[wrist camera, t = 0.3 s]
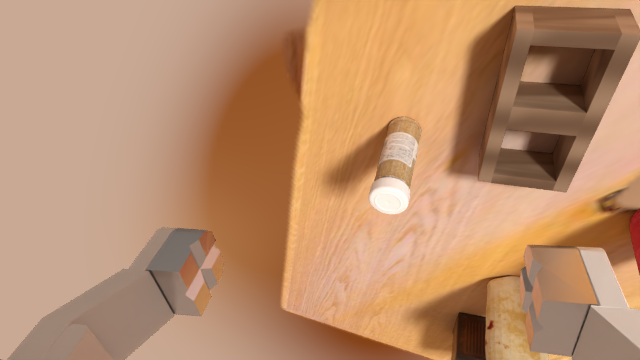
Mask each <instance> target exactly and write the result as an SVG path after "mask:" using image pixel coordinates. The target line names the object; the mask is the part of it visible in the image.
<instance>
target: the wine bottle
mask: <svg viewBox="0 0 640 360" xmlns="http://www.w3.org/2000/svg"><path fill="white" fill-rule="evenodd" d="M630 234H631V239H632V244H633V249H634V253H635V257H636V262H637V266H638V270H639V274H640V209H639V210H638V211H637V212H636V213H635V214H634V215H633V216H632V218H631V220H630Z"/></svg>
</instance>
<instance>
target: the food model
mask: <svg viewBox="0 0 640 360" xmlns="http://www.w3.org/2000/svg"><path fill="white" fill-rule="evenodd" d="M519 289H520V277H518V276H507V277H502V278H495V279H492V280H491V281H490V282H489V283H488V285H487V303H486V335H485V351H486V360H549V355H548V354H547V353H539V352H532V351H530V349H529V344H528V339H527V333H526V328H525V323H526V318H527V313H526V312H525V311H524V310H523V309H522V306H521V300H520V291H519Z"/></svg>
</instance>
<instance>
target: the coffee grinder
mask: <svg viewBox="0 0 640 360" xmlns="http://www.w3.org/2000/svg"><path fill="white" fill-rule="evenodd" d="M485 335H486V317H482V316H477V315H471V314H465V313H459V314H458V316H457V319H456V322H455V325H454V329H453V345H452V358H451V360H486V351H485Z"/></svg>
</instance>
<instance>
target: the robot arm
mask: <svg viewBox="0 0 640 360" xmlns="http://www.w3.org/2000/svg"><path fill="white" fill-rule="evenodd" d="M215 241H216V239H215V237H214V235H213V233H212V232H211V231H208V230H196V229H183V228H165V227H162V228H160V229H158V230H157V231H156V232H155V234H154V235H153V236H152V238H151V239H150V240H149V242H148V243H147V245H146V246H145V247H144V248H143V250H142V251H141V252H140V254H139V255H138V256H137V258H136V259H135V260H134V262H133V263H132V265H131V266H130V267H129V269H122V270H121V271H119V272H117V273H116V274H114V275H112V276H111V277H109V278H108V279H106V280H104V281H103V282H101V283H99V284H98V285H96V286H94V287H93V288H91V289H90V290H88V291H86V292H85V293H83V294H82V295H80V296H78V297H76V298H75V299H73V300H71V301H70V302H68V303H66V304H65V305H63V306H61V307H60V308H58V309H57V310H55V311H53V312H52V313H50V314H48V315H47V316H45V317H43V318H42V319H41V320H40V321H39V322H38V324H37V325H36V326H35V327H34V328H33V330H32V331H31V332H30V333H29V334H28V335H27V337H26V338H25V339H24V340H23V341H22V343H21V344H20V345H19V346H18V347H17V348H16V350H15V351H14V352H13V353H12V354H11V356H10V357H9V358H8V359H7V360H125V359H126V358H127V357H128V356H129V355H131V354H132V353H133V352H134V351H135V350H136V349H137V348H138V347H140V346H141V345H142V344H143V343H144V342H145V341H146V340H148V339H149V338H150V337H151V336H152V335H153V334H154V333H156V332H157V331H158V330H159V329H160V328H161V327H162V326H163V325H165V324H166V323H167V322H168V321H169V320H170V319H171V318H173V317H174V314H178V315H192V316H202V314H203V312H204V310H205V308H206V306H207V304H208V302H209V300H210V298H211V293H210V289H211V288H213V287H214V286H215V285H217V284H218V283H219V280H220V278H221V276H222V273H223V267H224V263H223V256H222V254H221V251H220V250H218V249H217V248H216V247H215V246H214V243H215ZM524 260H525V265H526V266H525V267H524V268H523V269H521V275H520V289H519V291H520V300H521V306H522V309H523V310H524V311H525V312H526V313H527V318H526V323H525V328H526V333H527V339H528V344H529V349H530V351H532V352H539V353H547V354H555V355H562V356H570V357H572V360H640V311H639V310H638V309H632V308H629V306H628V304H627V301H626V299H625V297H624V294H623V292H622V290H621V287H620V285H619V283H618V280H617V278H616V276H615V273H614V271H613V268H612V266H611V264H610V261H609V259H608V257H607V254H606V252H605V251H604V250H603V249H602V248H598V247H570V246H544V245H527V247H526V249H525V253H524ZM0 360H1V359H0Z"/></svg>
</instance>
